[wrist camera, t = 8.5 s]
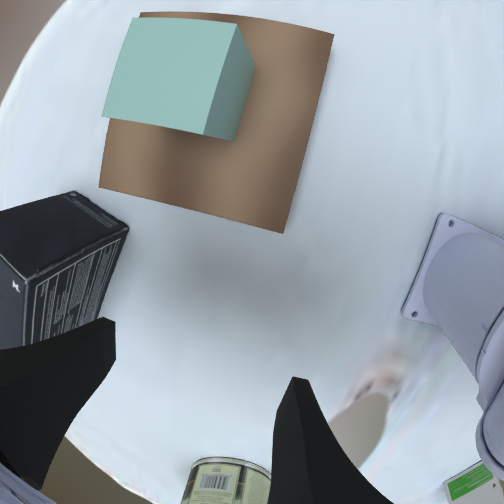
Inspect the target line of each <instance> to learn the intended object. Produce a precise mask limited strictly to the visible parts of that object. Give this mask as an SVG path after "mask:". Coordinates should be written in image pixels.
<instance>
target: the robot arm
mask: <svg viewBox="0 0 504 504" xmlns="http://www.w3.org/2000/svg"><path fill="white" fill-rule="evenodd" d="M450 220H452V224H451V225H450V226H449V225H448V222H449V221H450ZM414 311H416V313H415V314H414V315H412V313H413V312H414ZM402 315H403V317H404V318H406V319H410V320H414V321H418V322H423V323H427V324H431V325H436V326H439V327H440V328H441V329H442V331H443V332H444V333H445V335H446V336H447V338H448V339H449V340H450V342H451V343H452V345H453V346H454V348H455V349H456V351H457V352H458V353H459V355H460V356H461V358H462V359H463V361H464V362H465V364H466V365H467V367H468V368H469V370H470V372H471V373H472V375H473V376H474V378H475V379H476V381H477V382H478V384H479V393H478V396H477V398H476V399H477V401H478V403H479V405H480V406H481V408H482V410H483V412H484V413H483V415H482V417H481V419H480V420H479V423H478V426H477V429H476V446H477V451H478V453H479V456H480V458H481V460H482V461H483V463H484V465H485V466H486V467H487V468H488V470H489V471H490V472H491V473H493V474H494V475H495V476H496V477H498V478H499V479H501V480H503V481H504V240H503V239H501V238H499V237H497V236H495V235H493V234H491V233H489V232H487V231H485V230H482V229H480V228H478V227H476V226H474V225H472V224H469V223H467V222H465V221H463V220H460V219H458V218H456V217H453V216H451V215H449V214H446V213H442V214H441V215H440V216H439V217H438V220H437V223H436V226H435V229H434V232H433V235H432V238H431V241H430V243H429V246H428V249H427V252H426V254H425V257H424V259H423V262H422V265H421V267H420V270H419V272H418V275H417V277H416V279H415V282H414V284H413V286H412V289H411V291H410V293H409V296H408V298H407V300H406V302H405V305H404V307H403V309H402ZM115 360H116V343H115V322H114V321H112V320H109V319H107V318H104V317H101V318H99V319H96V320H94V321H91V322H89V323H86V324H84V325H82V326H79V327H77V328H74V329H72V330H70V331H67V332H65V333H62V334H60V335H57V336H54V337H51V338H48V339H45V340H42V341H39V342H36V343H32V344H29V345H24V346H20V347H15V348H8V349H2V350H0V504H23V503H22V502H21V501H19V500H18V499H17V497H16V496H18V497H19V498H20V499H22V500H23V501H25V502H26V503H27V504H57V503H55V502H54V501H52V500H50V499H49V498H47V497H46V496H44V495H43V494H41V493H40V492H38V491H37V490H40V489H42V486H43V483H44V480H45V477H46V474H47V472H48V469H49V466H50V464H51V462H52V460H53V458H54V455H55V453H56V451H57V449H58V447H59V445H60V443H61V441H62V439H63V437H64V435H65V433H66V432H67V430H68V428H69V426H70V425H71V423H72V421H73V419H74V418H75V417H76V415H77V414H78V412H79V411H80V410H81V408H82V407H83V406H84V405H85V403H86V402H87V401H88V399H89V398H90V397H91V396H92V394H93V393H94V392H95V391H96V389H97V388H98V387H99V385H100V384H101V383H102V381H103V380H104V379H105V377H106V376H107V374H108V372H109V371H110V369H111V367H112V365H113V364H114V362H115ZM267 504H393V503H392V502H391V501H390V500H388V499H387V498H386V497H384V496H383V495H382V494H381V493H380V492H379V491H378V490H377V489H376V488H375V487H373V486H372V485H371V484H370V483H369V482H368V481H367V479H366V478H365V477H364V476H363V475H362V474H361V473H360V472H359V470H358V469H357V468H356V467H355V466H354V465H353V463H352V462H351V461H350V459H349V458H348V457H347V455H346V454H345V452H344V451H343V449H342V448H341V446H340V445H339V443H338V441H337V440H336V438H335V436H334V435H333V433H332V431H331V429H330V428H329V425H328V423H327V421H326V419H325V417H324V415H323V413H322V411H321V409H320V407H319V404H318V402H317V400H316V398H315V395H314V393H313V390H312V388H311V385H310V383H309V381H308V380H307V379H302V378H297V377H292V379H291V381H290V383H289V386H288V388H287V390H286V392H285V394H284V396H283V399H282V401H281V403H280V405H279V407H278V409H277V413H276V419H275V425H274V431H273V449H272V471H271V484H270V491H269V497H268V502H267Z"/></svg>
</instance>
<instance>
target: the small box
mask: <svg viewBox="0 0 504 504" xmlns="http://www.w3.org/2000/svg"><path fill="white" fill-rule="evenodd" d="M128 230H129V229H128V227H127V226H126V225H125V224H124V223H123V222H121V221H119V220H116V219H115V218H114V217H113V216H110V215H109V214H107V213H106V212H105V211H103V210H101V209H100V208H99V207H97V206H96V205H94V204H93V203H91V202H90V201H89V200H88V199H87V198H85V197H83V196H82V195H80V194H78V193H77V192H75V191H71V192H68V193H63V194H60V195H56V196H52V197H48V198H44V199H41V200H37V201H34V202H30V203H27V204H23V205H20V206H16V207H13V208H9V209H6V210H3V211H0V350H2V349H8V348H15V347H20V346H24V345H29V344H32V343H36V342H39V341H42V340H45V339H48V338H51V337H54V336H57V335H60V334H62V333H65V332H67V331H70V330H72V329H74V328H77V327H79V326H82V325H84V324H86V323H89V322H91V321H94V320H96V319H97V316H98V314H99V310H100V307H101V304H102V301H103V298H104V295H105V292H106V289H107V286H108V283H109V280H110V278H111V275H112V272H113V269H114V266H115V264H116V261H117V258H118V256H119V253H120V250H121V248H122V245H123V242H124V240H125V237H126V234H127V232H128Z"/></svg>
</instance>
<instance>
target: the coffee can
mask: <svg viewBox="0 0 504 504" xmlns="http://www.w3.org/2000/svg"><path fill="white" fill-rule="evenodd" d="M270 484H271V474H270V473H269V472H268V471H266V470H265V469H264V468H262V467H259V466H257V465H255V464H253V463H250V462H246V461H243V460H239V459H233V458H222V457H213V458H206V459H201V460H199V461H197V462H195V463H194V464H193V465H192V468H191V473H190V476H189V479H188V482H187V485H186V488H185V491H184V494H183V498H182V501H181V504H267V502H268V497H269V491H270Z"/></svg>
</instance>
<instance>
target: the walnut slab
mask: <svg viewBox="0 0 504 504" xmlns="http://www.w3.org/2000/svg"><path fill="white" fill-rule="evenodd" d="M139 18H183V19H198V20H209V21H218V22H226V23H233V24H237V25H238V27H239V29H240V32H241V34H242V36H243V38H244V40H245V43H246V45H247V47H248V50H249V52H250V54H251V56H252V59H253V61H254V63H255V66H256V68H255V71H254V75H253V78H252V81H251V84H250V88H249V91H248V94H247V98H246V101H245V104H244V108H243V111H242V115H241V118H240V122H239V125H238V129H237V132H236V136H235V139H234V142H232V141H228V140H224V139H220V138H215V137H211V136H206V135H202V134H197V133H193V132H188V131H183V130H178V129H173V128H168V127H163V126H158V125H152V124H147V123H141V122H135V121H128V120H122V119H115V118H110V121H109V126H108V131H107V136H106V141H105V147H104V153H103V159H102V166H101V173H100V180H99V188H104V189H108V190H112V191H116V192H121V193H125V194H129V195H133V196H138V197H142V198H146V199H150V200H154V201H158V202H162V203H166V204H170V205H174V206H178V207H182V208H186V209H190V210H194V211H198V212H202V213H206V214H210V215H214V216H218V217H222V218H225V219H229V220H233V221H237V222H241V223H244V224H248V225H252V226H256V227H259V228H263V229H267V230H271V231H274V232H278V233H282V234H283V232H284V229H285V225H286V221H287V218H288V214H289V211H290V207H291V203H292V200H293V196H294V192H295V189H296V185H297V181H298V177H299V174H300V170H301V166H302V162H303V159H304V155H305V151H306V147H307V143H308V139H309V136H310V132H311V128H312V124H313V120H314V116H315V112H316V108H317V104H318V100H319V96H320V92H321V88H322V84H323V80H324V76H325V71H326V67H327V63H328V59H329V55H330V50H331V46H332V42H333V38H334V34H331V33H327V32H323V31H320V30H316V29H312V28H307V27H303V26H299V25H294V24H289V23H284V22H279V21H273V20H267V19H261V18H254V17H247V16H238V15H229V14H218V13H203V12H141V13H140V16H139Z"/></svg>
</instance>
